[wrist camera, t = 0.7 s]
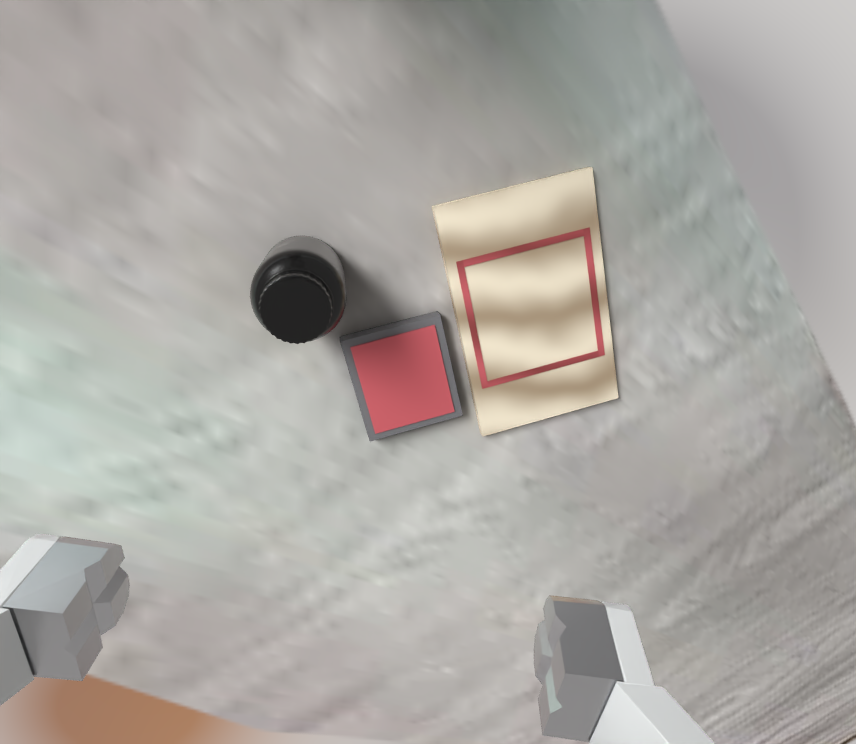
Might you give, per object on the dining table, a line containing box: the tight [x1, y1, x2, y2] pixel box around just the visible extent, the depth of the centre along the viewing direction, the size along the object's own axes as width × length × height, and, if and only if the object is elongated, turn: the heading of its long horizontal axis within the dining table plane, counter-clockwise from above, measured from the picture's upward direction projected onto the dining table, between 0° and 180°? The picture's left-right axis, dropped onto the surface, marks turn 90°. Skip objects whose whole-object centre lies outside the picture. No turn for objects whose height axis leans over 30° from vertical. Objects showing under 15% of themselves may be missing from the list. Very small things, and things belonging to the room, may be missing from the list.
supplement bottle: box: [250, 236, 346, 344], centre depth 44 cm, size 7×7×12 cm
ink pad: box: [340, 311, 463, 441], centre depth 53 cm, size 10×9×2 cm
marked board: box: [432, 167, 618, 436], centre depth 54 cm, size 22×14×1 cm, turn 13°
